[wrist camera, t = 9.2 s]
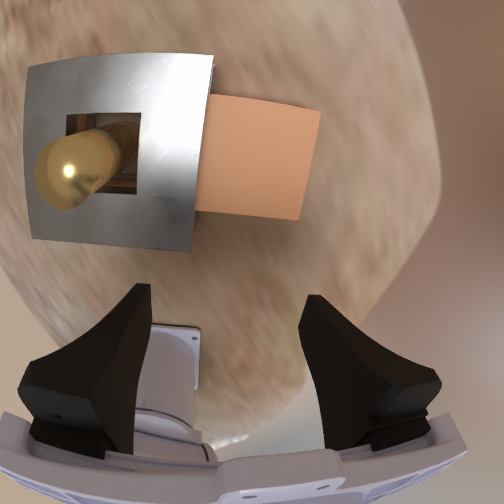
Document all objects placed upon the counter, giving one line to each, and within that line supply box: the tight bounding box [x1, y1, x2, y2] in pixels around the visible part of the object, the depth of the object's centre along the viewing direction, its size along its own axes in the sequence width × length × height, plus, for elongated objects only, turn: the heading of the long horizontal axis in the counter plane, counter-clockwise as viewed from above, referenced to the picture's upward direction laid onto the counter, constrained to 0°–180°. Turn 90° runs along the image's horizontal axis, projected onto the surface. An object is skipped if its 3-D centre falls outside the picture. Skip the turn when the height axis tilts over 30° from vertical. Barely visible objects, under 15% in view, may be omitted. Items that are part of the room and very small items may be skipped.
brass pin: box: [34, 121, 140, 210], centre depth 13 cm, size 3×3×9 cm
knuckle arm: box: [77, 94, 321, 221], centre depth 17 cm, size 7×16×3 cm, turn 81°
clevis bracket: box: [23, 53, 214, 252], centre depth 15 cm, size 11×11×4 cm
